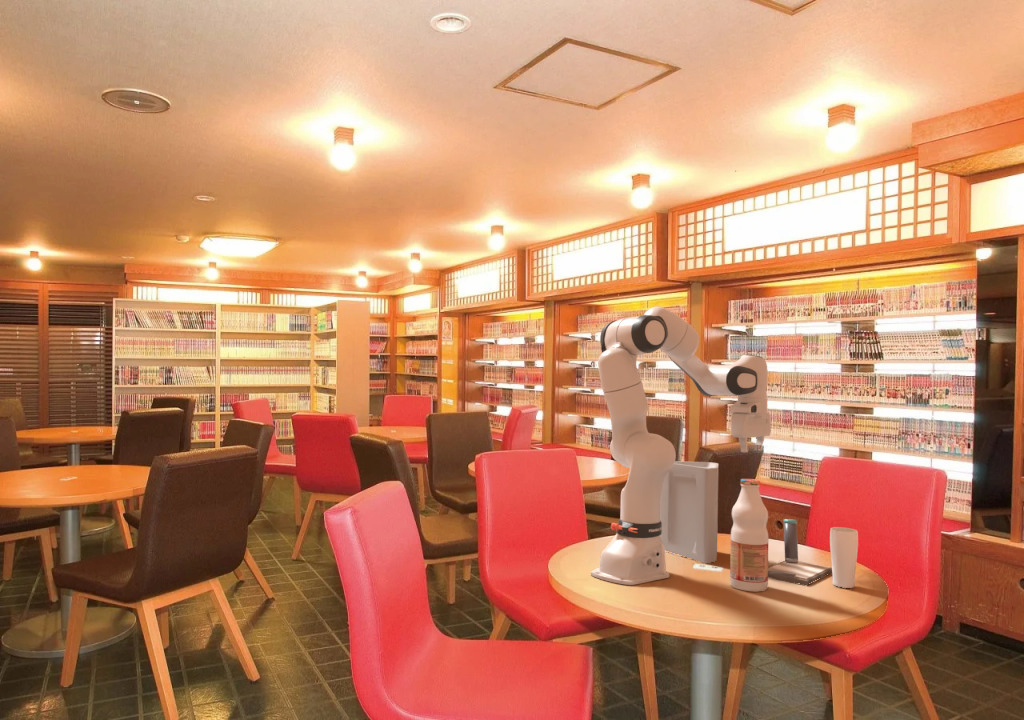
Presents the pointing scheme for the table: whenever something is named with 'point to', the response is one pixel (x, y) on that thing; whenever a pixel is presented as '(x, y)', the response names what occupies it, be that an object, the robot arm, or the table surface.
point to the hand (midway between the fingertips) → (751, 451)
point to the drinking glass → (843, 556)
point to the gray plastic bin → (690, 510)
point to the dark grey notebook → (798, 572)
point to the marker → (790, 540)
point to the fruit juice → (749, 540)
